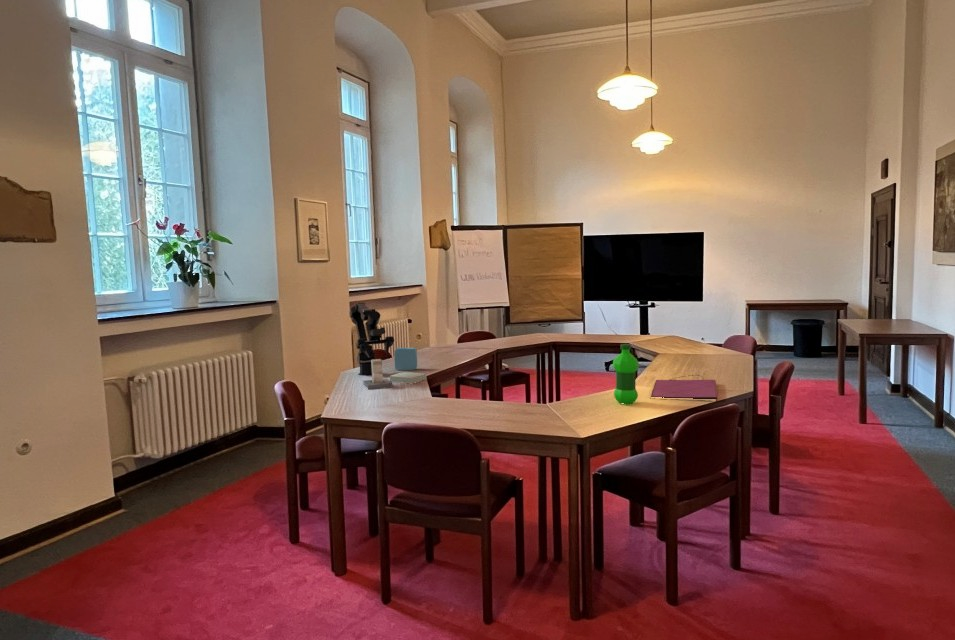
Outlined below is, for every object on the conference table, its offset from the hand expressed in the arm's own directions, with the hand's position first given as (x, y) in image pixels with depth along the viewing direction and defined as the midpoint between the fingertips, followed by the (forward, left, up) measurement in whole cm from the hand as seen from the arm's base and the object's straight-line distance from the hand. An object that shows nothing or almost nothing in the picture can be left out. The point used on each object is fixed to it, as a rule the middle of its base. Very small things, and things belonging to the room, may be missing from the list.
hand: (378, 356), depth 333 cm
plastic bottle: (+125, +9, -14) cm, 126 cm away
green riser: (+10, +11, -13) cm, 20 cm away
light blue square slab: (-10, +36, -14) cm, 40 cm away
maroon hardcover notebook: (+141, +44, -14) cm, 148 cm away
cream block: (+3, -6, -14) cm, 15 cm away
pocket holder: (+3, -6, -13) cm, 15 cm away
